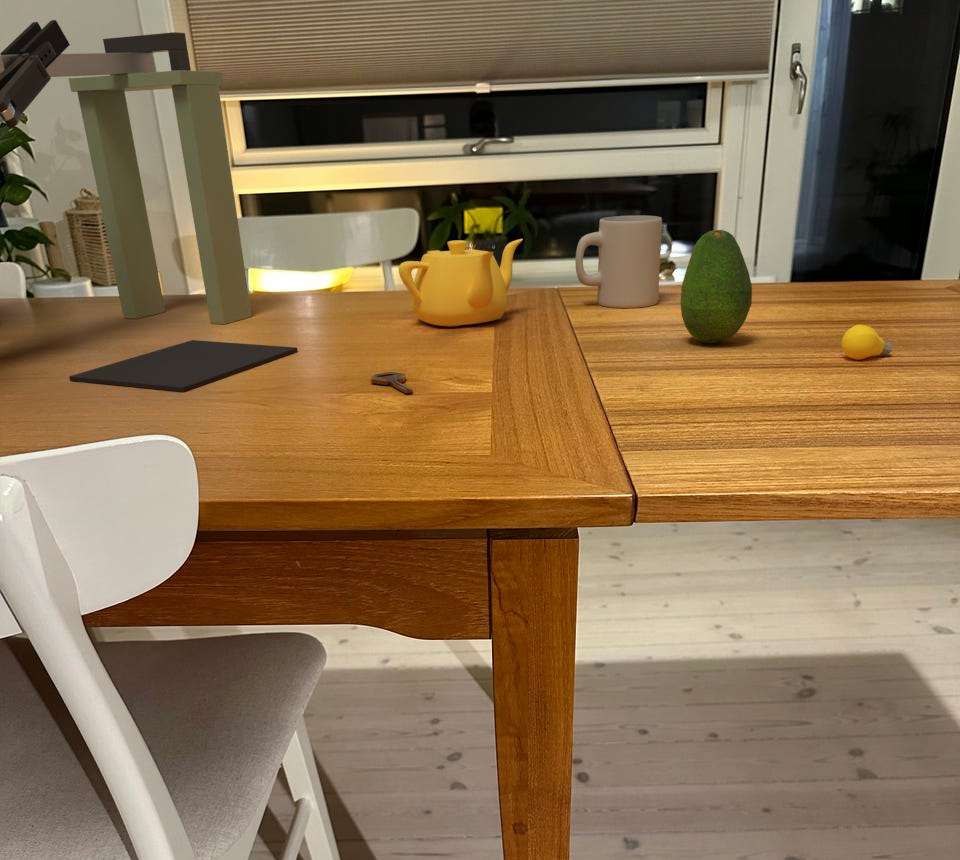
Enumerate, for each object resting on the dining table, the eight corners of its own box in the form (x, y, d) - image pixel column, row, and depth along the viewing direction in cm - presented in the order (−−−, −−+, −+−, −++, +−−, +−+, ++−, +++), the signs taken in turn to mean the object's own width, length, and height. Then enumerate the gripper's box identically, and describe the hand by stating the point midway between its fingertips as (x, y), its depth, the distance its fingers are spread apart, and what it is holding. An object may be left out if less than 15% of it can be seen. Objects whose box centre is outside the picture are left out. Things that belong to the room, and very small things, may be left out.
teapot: (494, 332, 119) (492, 247, 115) (395, 329, 123) (389, 246, 119) (524, 312, 131) (523, 234, 126) (432, 310, 135) (428, 234, 130)
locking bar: (-8, 79, 106) (-14, 56, 104) (144, 73, 124) (140, 53, 123) (6, 78, 105) (0, 54, 104) (157, 72, 123) (153, 52, 122)
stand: (118, 319, 137) (60, 39, 121) (157, 309, 144) (106, 42, 127) (220, 325, 130) (172, 28, 114) (256, 315, 136) (216, 32, 120)
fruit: (662, 342, 111) (668, 230, 105) (712, 333, 114) (721, 224, 108) (711, 353, 105) (721, 235, 99) (762, 343, 108) (774, 228, 102)
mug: (644, 296, 139) (648, 214, 134) (668, 305, 132) (672, 219, 126) (565, 302, 137) (566, 219, 131) (585, 312, 129) (587, 224, 124)
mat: (69, 380, 104) (68, 376, 104) (193, 344, 120) (192, 339, 119) (183, 392, 98) (182, 387, 97) (297, 351, 113) (297, 347, 113)
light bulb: (831, 358, 100) (837, 323, 100) (875, 368, 102) (881, 335, 102) (855, 354, 97) (861, 318, 97) (899, 365, 99) (905, 330, 99)
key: (393, 395, 93) (393, 391, 92) (365, 379, 99) (365, 375, 99) (429, 390, 94) (429, 386, 94) (399, 374, 100) (398, 370, 100)
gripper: (-96, 189, 105) (24, 70, 116) (1, 188, 99) (119, 62, 110) (-149, 123, 99) (-17, 4, 110) (-49, 118, 93) (81, -8, 104)
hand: (51, 33), depth 110 cm, fingers closed on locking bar, 2 cm apart
